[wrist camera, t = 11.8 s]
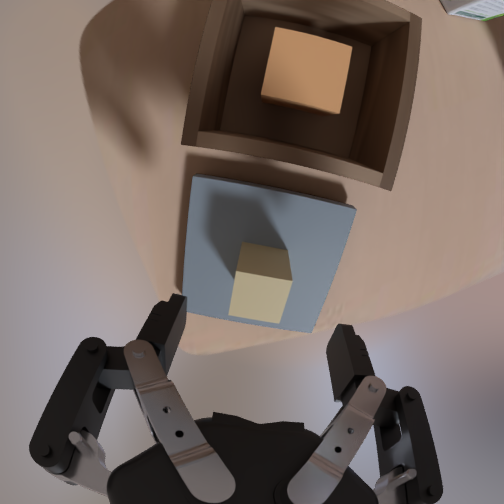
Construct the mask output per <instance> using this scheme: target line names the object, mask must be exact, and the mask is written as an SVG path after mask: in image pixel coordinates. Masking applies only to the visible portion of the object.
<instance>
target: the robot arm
mask: <svg viewBox="0 0 504 504" xmlns="http://www.w3.org/2000/svg"><path fill="white" fill-rule="evenodd" d="M186 314H187V296H183V295H179V294H174V293H173V294H172V296H171V298H170V300H169V301H168V302H166V301H160V302H159V303H157V304H156V305H155V306H154V307H153V309H152V311H151V313H150V314H149V316H148V319H147V320H146V322H145V323H144V326H143V327H142V329H141V331H140V333H139V335H138V336H137V338H136V340H133V341H130V342H129V343H127V344H126V346H124V347H111V346H106V344H105V342H104V341H103V340H102V339H100V338H97V337H89V338H86V339H84V340H83V341H82V342H81V343H80V345H79V346H78V348H77V350H76V351H75V353H74V355H73V356H72V358H71V360H70V362H69V364H68V365H67V367H66V369H65V371H64V373H63V375H62V376H61V378H60V380H59V382H58V384H57V386H56V388H55V390H54V392H53V394H52V395H51V398H50V400H49V402H48V404H47V406H46V408H45V410H44V412H43V414H42V417H41V418H40V421H39V423H38V425H37V427H36V430H35V432H34V434H33V437H32V439H31V441H30V445H29V451H30V454H31V457H32V458H33V460H34V461H35V462H36V463H37V464H39V465H40V466H41V467H43V468H44V469H45V470H46V471H47V472H49V473H51V474H52V475H53V476H55V477H57V478H58V479H60V480H62V481H64V482H66V483H68V484H70V485H80V486H82V487H84V488H87V489H89V490H92V491H94V492H97V493H99V494H102V495H104V496H107V497H108V498H109V501H110V504H434V503H436V502H437V501H438V500H439V499H440V498H441V496H442V494H443V485H442V480H441V474H440V469H439V464H438V459H437V455H436V450H435V446H434V442H433V438H432V434H431V430H430V426H429V423H428V419H427V416H426V412H425V409H424V406H423V402H422V399H421V396H420V394H419V392H418V391H417V390H416V389H414V388H412V387H409V386H406V387H403V388H402V389H401V390H400V391H399V392H398V391H395V390H392V389H388V388H386V385H385V383H384V382H383V381H382V380H381V379H380V378H378V377H376V376H375V373H374V370H373V367H372V364H371V361H370V358H369V357H368V352H367V349H366V346H365V343H364V341H363V340H362V339H361V337H360V336H359V335H355V332H354V329H353V326H352V325H346V324H338V325H337V326H336V328H335V331H334V333H333V335H332V337H331V339H330V341H329V343H328V345H327V350H326V354H327V360H328V365H329V371H330V377H331V383H332V389H333V395H334V401H335V402H342V404H343V406H342V407H341V408H340V410H339V411H338V413H337V414H336V416H335V417H334V418H333V420H332V421H331V422H330V424H329V425H328V426H327V428H326V429H325V430H324V432H323V433H322V434H321V435H320V436H318V435H317V434H315V433H313V432H312V431H309V430H307V429H304V423H299V422H284V421H282V422H274V423H266V424H257V423H254V422H252V421H249V420H246V419H243V418H241V417H238V416H233V415H228V414H222V413H216V412H213V416H212V418H201V419H198V420H193V418H192V416H191V415H190V413H189V411H188V409H187V408H186V406H185V404H184V402H183V400H182V399H181V397H180V395H179V393H178V391H177V389H176V387H175V385H174V383H173V382H172V381H171V380H168V378H167V374H168V372H169V369H170V366H171V363H172V361H173V358H174V355H175V352H176V350H177V347H178V344H179V342H180V339H181V336H182V334H183V331H184V328H185V324H186ZM115 389H130V390H133V391H134V393H135V396H136V399H137V401H138V404H139V406H140V408H141V411H142V413H143V415H144V418H145V420H146V423H147V426H148V428H149V430H150V432H151V435H152V437H153V439H154V441H155V443H156V444H155V445H153V446H152V447H150V448H149V449H147V450H145V451H144V452H142V453H141V454H139V455H137V456H135V457H134V458H132V459H130V460H128V461H127V462H125V463H123V464H122V465H120V466H118V467H117V468H116V469H114V470H113V471H112V472H111V471H108V470H107V468H106V465H105V452H104V449H103V448H102V446H101V445H100V444H99V443H98V441H97V438H98V435H99V432H100V429H101V426H102V424H103V421H104V418H105V415H106V412H107V410H108V407H109V404H110V401H111V399H112V396H113V394H114V391H115ZM399 424H400V426H399ZM372 425H374V431H375V438H376V444H377V453H378V461H379V470H380V478H379V479H378V480H377V482H376V484H375V488H374V490H372V489H371V488H370V487H369V486H368V485H367V484H366V483H365V482H364V481H363V480H362V479H361V478H360V477H359V476H358V475H357V474H356V473H355V472H354V471H353V470H352V469H351V468H350V467H349V466H348V465H349V464H350V462H351V461H352V459H353V458H354V456H355V454H356V453H357V451H358V449H359V448H360V446H361V444H362V443H363V441H364V439H365V438H366V436H367V434H368V432H369V430H370V429H371V426H372ZM400 427H401V431H400ZM401 432H402V436H401Z"/></svg>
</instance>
